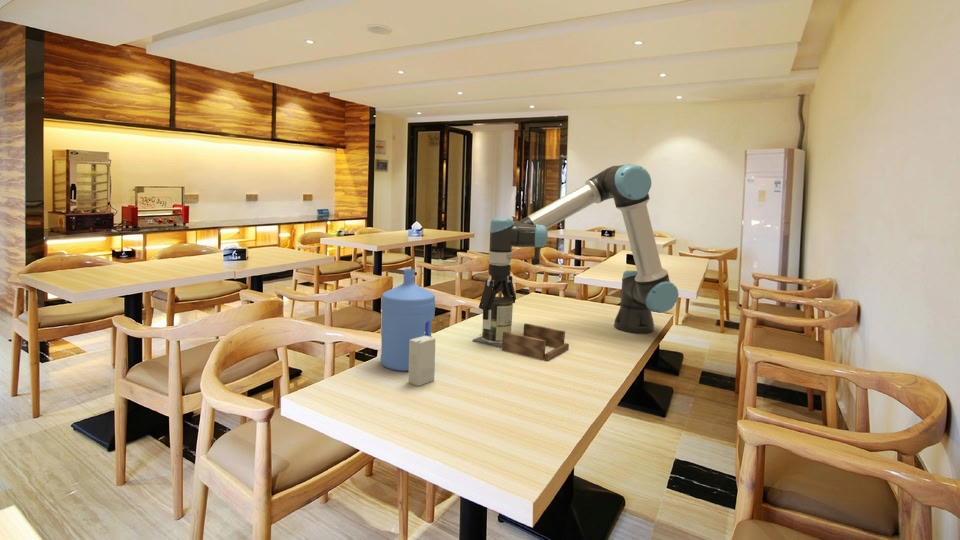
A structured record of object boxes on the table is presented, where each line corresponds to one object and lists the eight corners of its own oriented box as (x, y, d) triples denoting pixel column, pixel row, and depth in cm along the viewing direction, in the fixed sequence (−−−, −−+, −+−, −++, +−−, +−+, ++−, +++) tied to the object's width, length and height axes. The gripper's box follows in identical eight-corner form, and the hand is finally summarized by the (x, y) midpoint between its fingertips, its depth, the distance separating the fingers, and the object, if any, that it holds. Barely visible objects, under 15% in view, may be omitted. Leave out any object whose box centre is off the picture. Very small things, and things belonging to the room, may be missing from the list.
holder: (568, 349, 175) (569, 332, 174) (547, 361, 162) (549, 342, 161) (524, 339, 184) (525, 323, 183) (501, 350, 171) (502, 332, 170)
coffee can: (480, 342, 177) (482, 301, 174) (483, 334, 187) (484, 295, 185) (510, 344, 176) (512, 303, 173) (512, 336, 186) (514, 297, 184)
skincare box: (423, 376, 144) (424, 334, 143) (435, 381, 142) (436, 338, 140) (407, 382, 140) (408, 338, 138) (418, 387, 137) (419, 342, 135)
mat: (519, 340, 183) (520, 338, 183) (502, 348, 173) (502, 346, 173) (491, 334, 189) (491, 332, 189) (472, 341, 180) (472, 339, 180)
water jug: (390, 375, 145) (391, 275, 140) (374, 358, 158) (374, 266, 154) (442, 368, 152) (444, 273, 148) (422, 352, 166) (424, 265, 161)
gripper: (489, 269, 165) (486, 334, 168) (527, 261, 185) (524, 319, 189) (469, 266, 169) (467, 330, 172) (509, 259, 189) (506, 316, 193)
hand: (497, 324), depth 180 cm, fingers open, 13 cm apart
